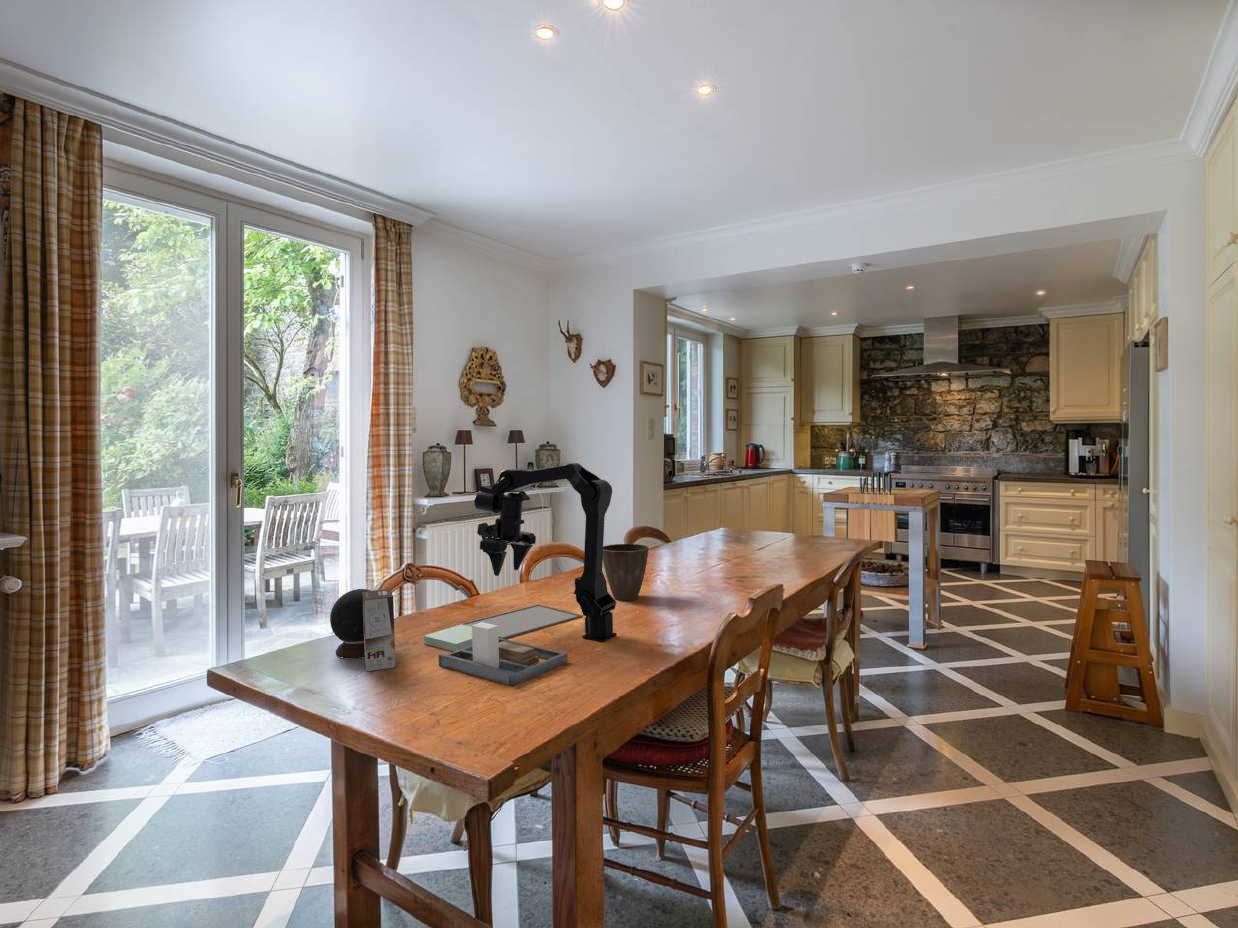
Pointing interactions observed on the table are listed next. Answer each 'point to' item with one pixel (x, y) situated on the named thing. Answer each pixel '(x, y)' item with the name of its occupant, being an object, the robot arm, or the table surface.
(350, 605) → the black sphere with base
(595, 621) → the robot arm
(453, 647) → the green board
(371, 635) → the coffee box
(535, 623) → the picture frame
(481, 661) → the tall white cuboid
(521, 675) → the offcut tray
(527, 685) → the table surface
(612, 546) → the plant pot
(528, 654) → the offcut stack
